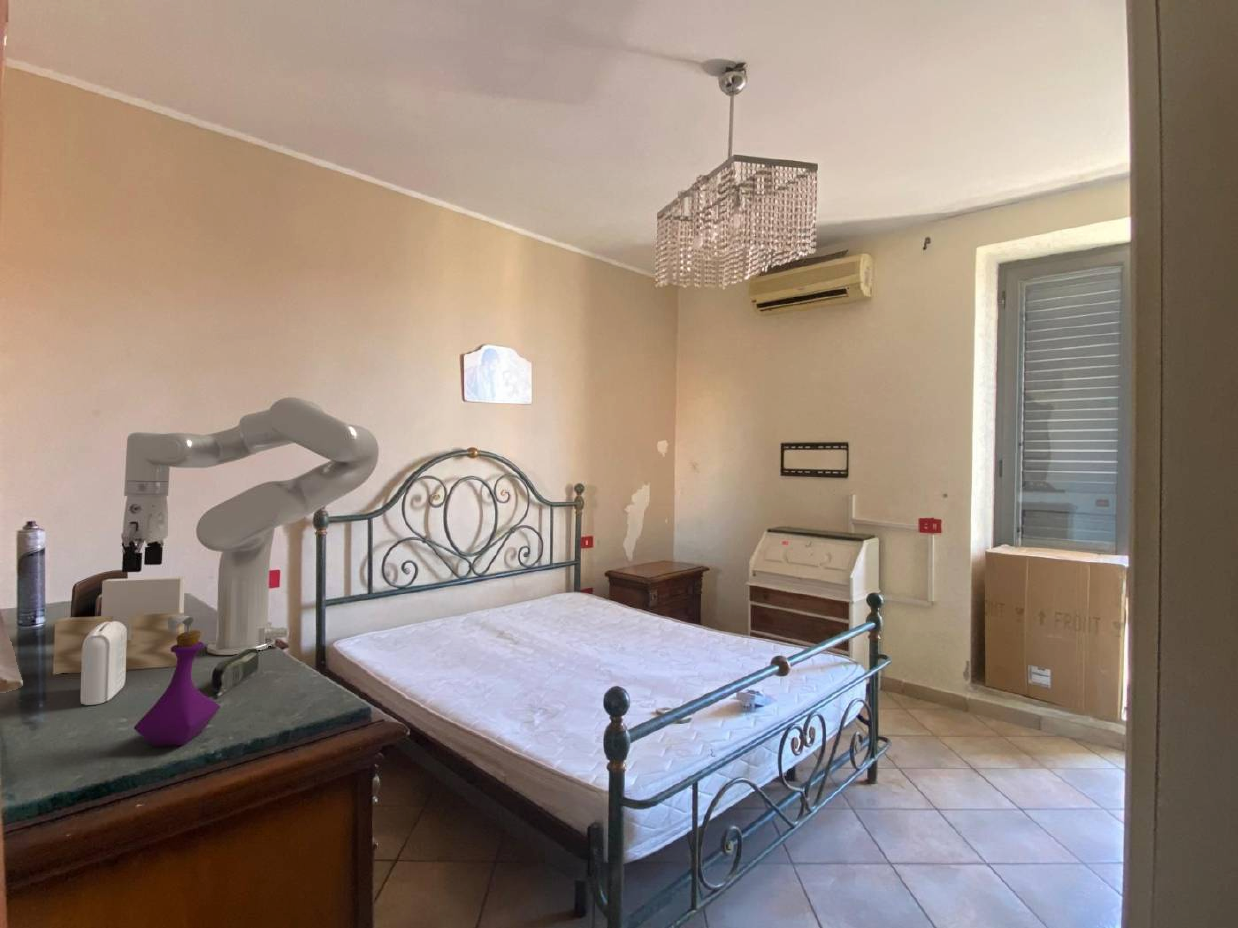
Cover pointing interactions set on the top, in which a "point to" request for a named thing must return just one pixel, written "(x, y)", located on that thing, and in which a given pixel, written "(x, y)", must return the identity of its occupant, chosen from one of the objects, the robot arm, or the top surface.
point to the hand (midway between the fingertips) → (142, 568)
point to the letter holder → (91, 594)
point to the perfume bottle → (179, 696)
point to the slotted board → (141, 651)
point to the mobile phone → (234, 671)
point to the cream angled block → (141, 598)
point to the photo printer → (103, 663)
